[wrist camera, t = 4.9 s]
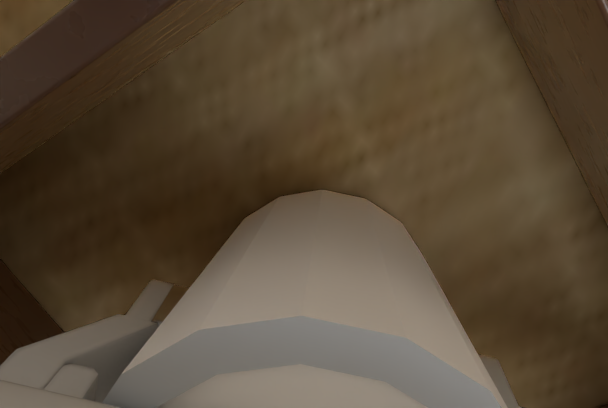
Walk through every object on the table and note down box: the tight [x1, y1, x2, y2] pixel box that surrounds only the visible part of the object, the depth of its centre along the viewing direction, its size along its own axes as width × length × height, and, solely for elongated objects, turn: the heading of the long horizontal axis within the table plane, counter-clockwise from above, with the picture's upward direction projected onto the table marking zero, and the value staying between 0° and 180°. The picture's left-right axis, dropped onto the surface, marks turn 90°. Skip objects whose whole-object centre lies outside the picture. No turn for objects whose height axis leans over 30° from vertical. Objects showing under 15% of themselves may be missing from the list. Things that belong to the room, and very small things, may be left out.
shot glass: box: [102, 189, 508, 408], centre depth 11 cm, size 7×7×7 cm
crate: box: [0, 0, 608, 408], centre depth 12 cm, size 16×16×5 cm
